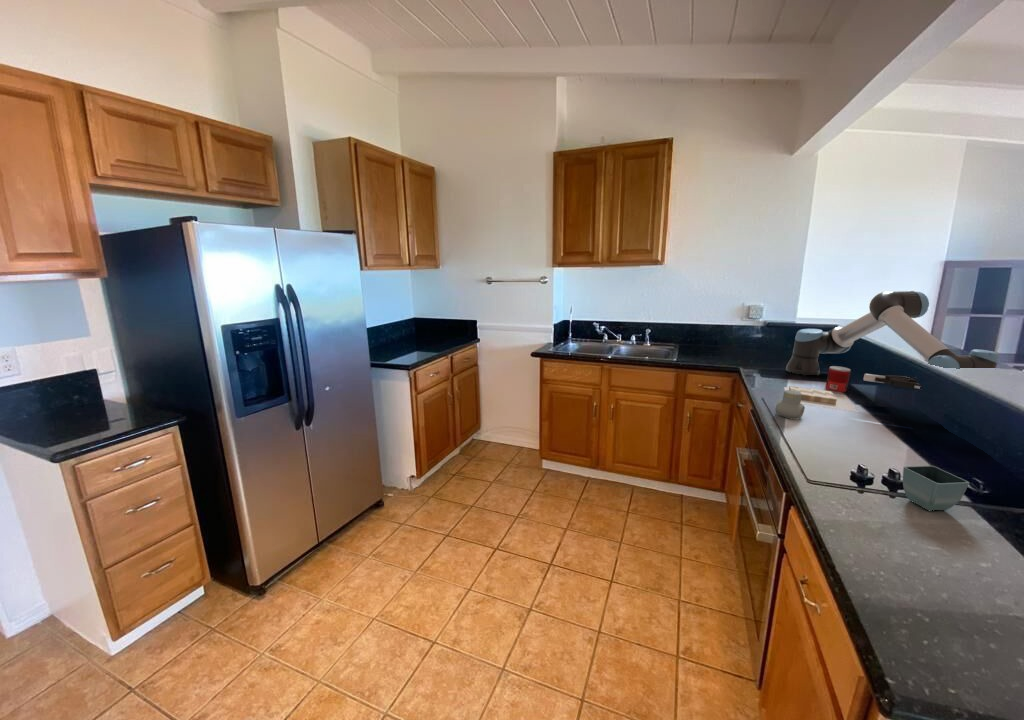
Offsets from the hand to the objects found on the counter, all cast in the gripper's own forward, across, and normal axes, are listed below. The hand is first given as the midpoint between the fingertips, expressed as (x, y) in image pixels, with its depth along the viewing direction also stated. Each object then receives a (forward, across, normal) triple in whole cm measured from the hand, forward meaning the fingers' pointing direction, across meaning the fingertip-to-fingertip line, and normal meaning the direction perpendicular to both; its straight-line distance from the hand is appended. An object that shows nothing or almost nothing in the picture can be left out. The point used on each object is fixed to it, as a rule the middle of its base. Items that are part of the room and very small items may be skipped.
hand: (864, 377), depth 178 cm
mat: (+14, 0, -13) cm, 19 cm away
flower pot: (+2, -85, -12) cm, 86 cm away
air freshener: (+27, -30, -13) cm, 43 cm away
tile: (+9, 0, -11) cm, 14 cm away
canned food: (+5, +20, -13) cm, 25 cm away
